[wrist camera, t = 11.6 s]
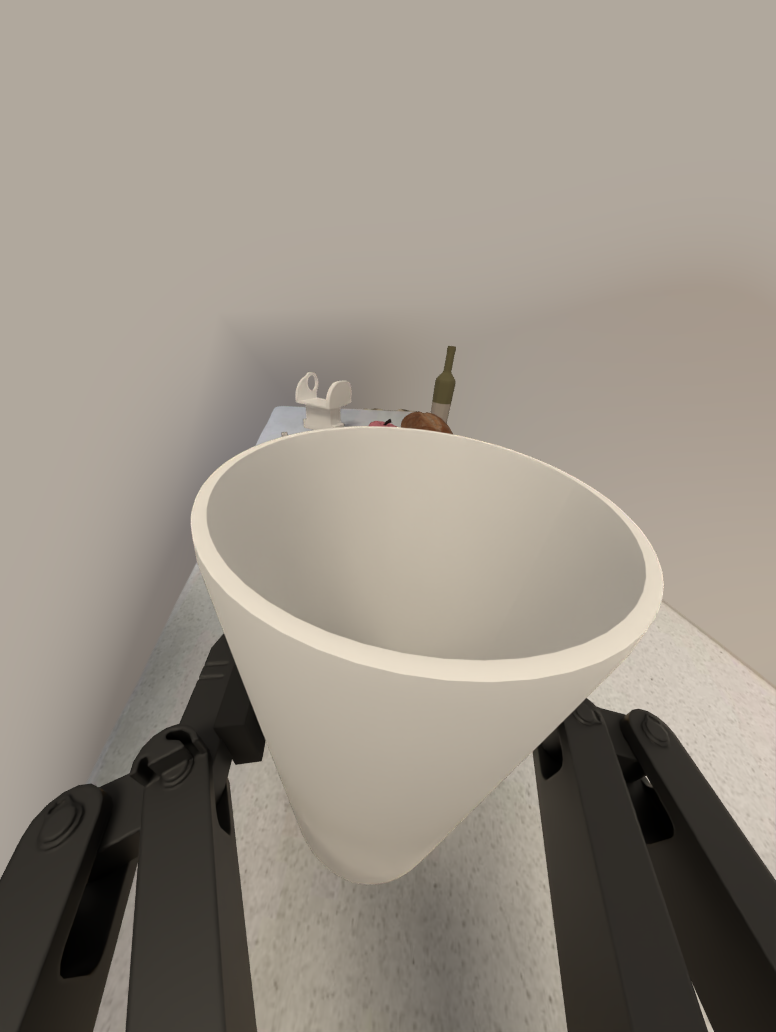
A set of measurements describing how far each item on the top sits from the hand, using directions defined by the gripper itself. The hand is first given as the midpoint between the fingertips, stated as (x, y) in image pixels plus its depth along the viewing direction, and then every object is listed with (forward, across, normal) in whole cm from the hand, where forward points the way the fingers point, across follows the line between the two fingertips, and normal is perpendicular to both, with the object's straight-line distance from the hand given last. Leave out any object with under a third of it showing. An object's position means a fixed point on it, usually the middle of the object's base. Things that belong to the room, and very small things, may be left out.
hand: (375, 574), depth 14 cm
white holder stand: (+95, -8, -20) cm, 97 cm away
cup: (-5, 0, -9) cm, 10 cm away
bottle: (+93, +34, -20) cm, 101 cm away
